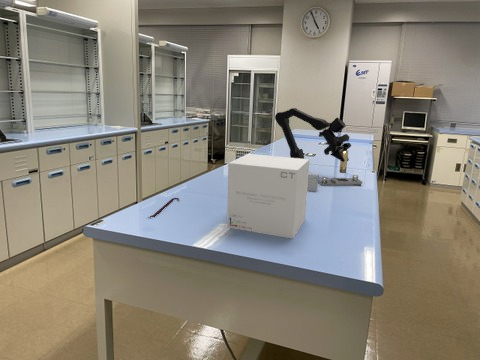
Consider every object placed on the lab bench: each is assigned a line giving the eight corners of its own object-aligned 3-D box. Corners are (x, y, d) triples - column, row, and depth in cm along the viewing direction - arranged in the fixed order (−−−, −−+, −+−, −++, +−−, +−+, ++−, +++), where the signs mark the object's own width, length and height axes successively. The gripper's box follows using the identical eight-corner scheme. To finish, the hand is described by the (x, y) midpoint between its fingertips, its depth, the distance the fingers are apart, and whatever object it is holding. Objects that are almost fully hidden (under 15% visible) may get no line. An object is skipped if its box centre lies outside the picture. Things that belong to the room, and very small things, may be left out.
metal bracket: (321, 185, 200) (321, 177, 199) (316, 182, 208) (317, 173, 206) (362, 185, 202) (362, 177, 201) (356, 182, 210) (357, 174, 209)
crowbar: (171, 197, 170) (181, 197, 170) (171, 199, 171) (181, 200, 170) (146, 217, 144) (159, 218, 143) (147, 219, 144) (159, 220, 143)
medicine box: (317, 189, 192) (318, 173, 190) (316, 192, 188) (317, 175, 186) (302, 188, 195) (303, 172, 192) (300, 190, 190) (301, 173, 188)
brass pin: (340, 173, 202) (342, 151, 199) (338, 171, 205) (340, 150, 202) (347, 173, 202) (349, 151, 199) (344, 171, 205) (346, 150, 202)
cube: (227, 227, 137) (228, 163, 131) (246, 210, 157) (248, 153, 151) (293, 238, 129) (297, 170, 123) (305, 219, 148) (309, 159, 142)
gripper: (330, 130, 194) (346, 154, 189) (350, 128, 207) (365, 150, 201) (317, 143, 202) (332, 166, 197) (336, 140, 214) (351, 162, 209)
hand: (346, 161), depth 201 cm, fingers closed on brass pin, 4 cm apart
